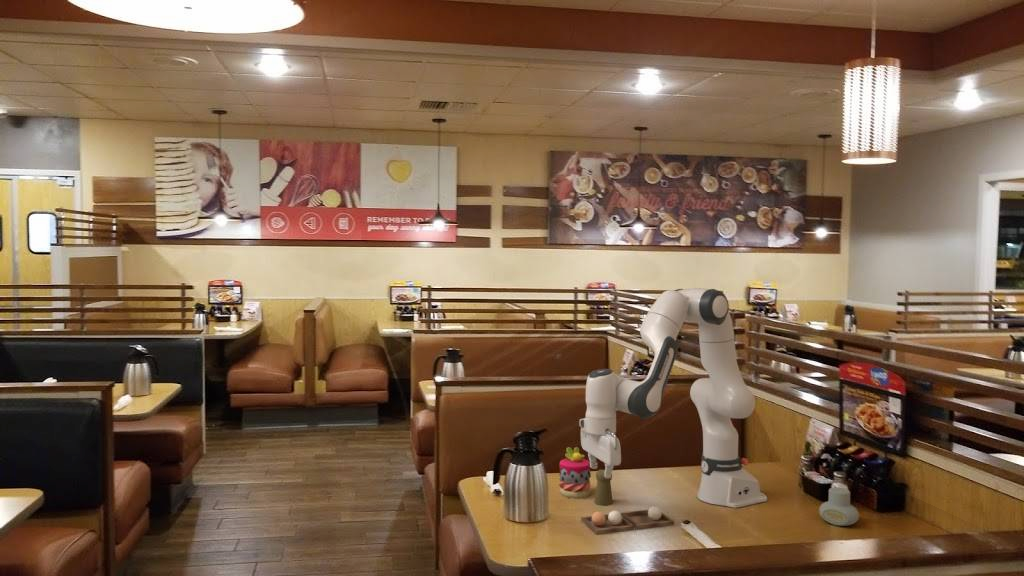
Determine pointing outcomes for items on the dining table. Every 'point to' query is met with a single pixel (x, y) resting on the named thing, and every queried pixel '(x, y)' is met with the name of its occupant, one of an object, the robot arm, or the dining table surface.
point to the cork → (603, 489)
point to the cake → (574, 475)
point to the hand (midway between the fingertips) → (600, 472)
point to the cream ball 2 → (654, 513)
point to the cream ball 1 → (614, 517)
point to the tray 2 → (646, 520)
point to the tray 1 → (607, 525)
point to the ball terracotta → (598, 518)
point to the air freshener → (839, 508)
